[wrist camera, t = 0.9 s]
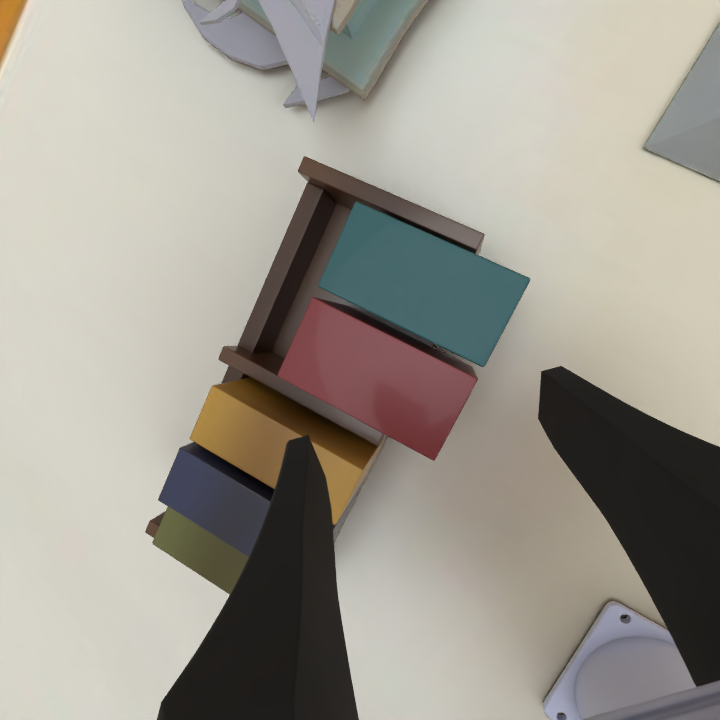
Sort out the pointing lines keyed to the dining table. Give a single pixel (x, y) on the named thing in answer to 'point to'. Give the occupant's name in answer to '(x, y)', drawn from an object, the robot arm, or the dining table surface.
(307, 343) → the burgundy book
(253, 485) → the book rack
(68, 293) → the dining table surface
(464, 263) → the teal book
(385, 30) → the ornate book
